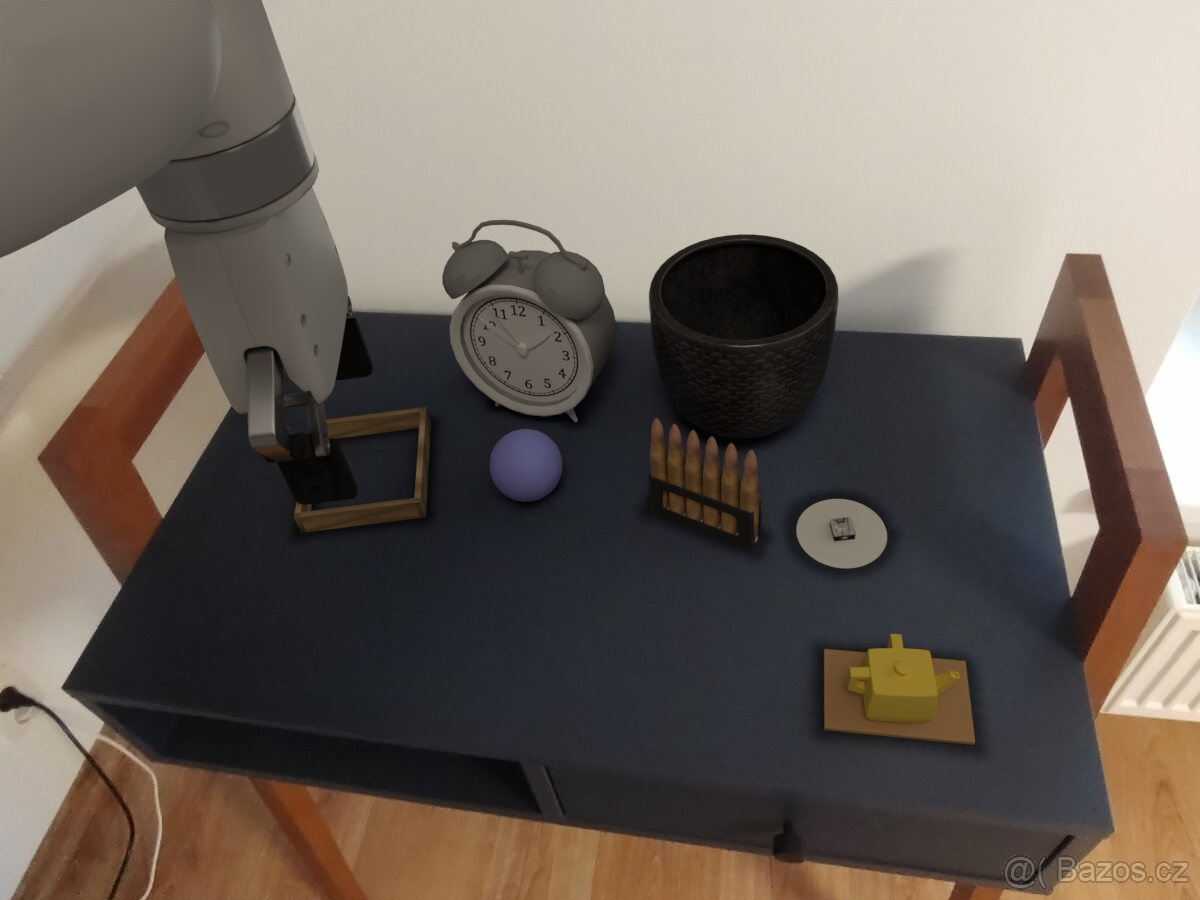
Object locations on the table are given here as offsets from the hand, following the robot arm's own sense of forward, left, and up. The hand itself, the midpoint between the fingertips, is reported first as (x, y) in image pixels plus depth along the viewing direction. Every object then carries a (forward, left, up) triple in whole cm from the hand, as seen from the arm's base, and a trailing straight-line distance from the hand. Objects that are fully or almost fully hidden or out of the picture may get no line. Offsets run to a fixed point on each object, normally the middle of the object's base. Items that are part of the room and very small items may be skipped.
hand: (339, 433), depth 53 cm
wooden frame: (+28, +10, -32) cm, 44 cm away
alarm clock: (+36, -9, -32) cm, 49 cm away
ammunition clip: (+16, -23, -32) cm, 43 cm away
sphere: (+23, -7, -32) cm, 40 cm away
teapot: (-3, -35, -32) cm, 47 cm away
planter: (+30, -29, -32) cm, 53 cm away
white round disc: (+13, -35, -32) cm, 50 cm away
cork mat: (-3, -35, -32) cm, 48 cm away
